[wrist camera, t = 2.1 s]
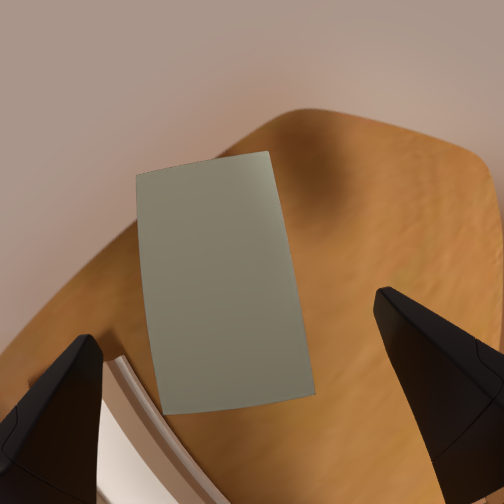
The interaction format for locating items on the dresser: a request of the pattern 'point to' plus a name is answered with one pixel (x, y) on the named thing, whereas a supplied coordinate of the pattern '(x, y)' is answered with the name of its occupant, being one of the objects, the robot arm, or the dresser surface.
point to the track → (143, 449)
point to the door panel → (220, 287)
